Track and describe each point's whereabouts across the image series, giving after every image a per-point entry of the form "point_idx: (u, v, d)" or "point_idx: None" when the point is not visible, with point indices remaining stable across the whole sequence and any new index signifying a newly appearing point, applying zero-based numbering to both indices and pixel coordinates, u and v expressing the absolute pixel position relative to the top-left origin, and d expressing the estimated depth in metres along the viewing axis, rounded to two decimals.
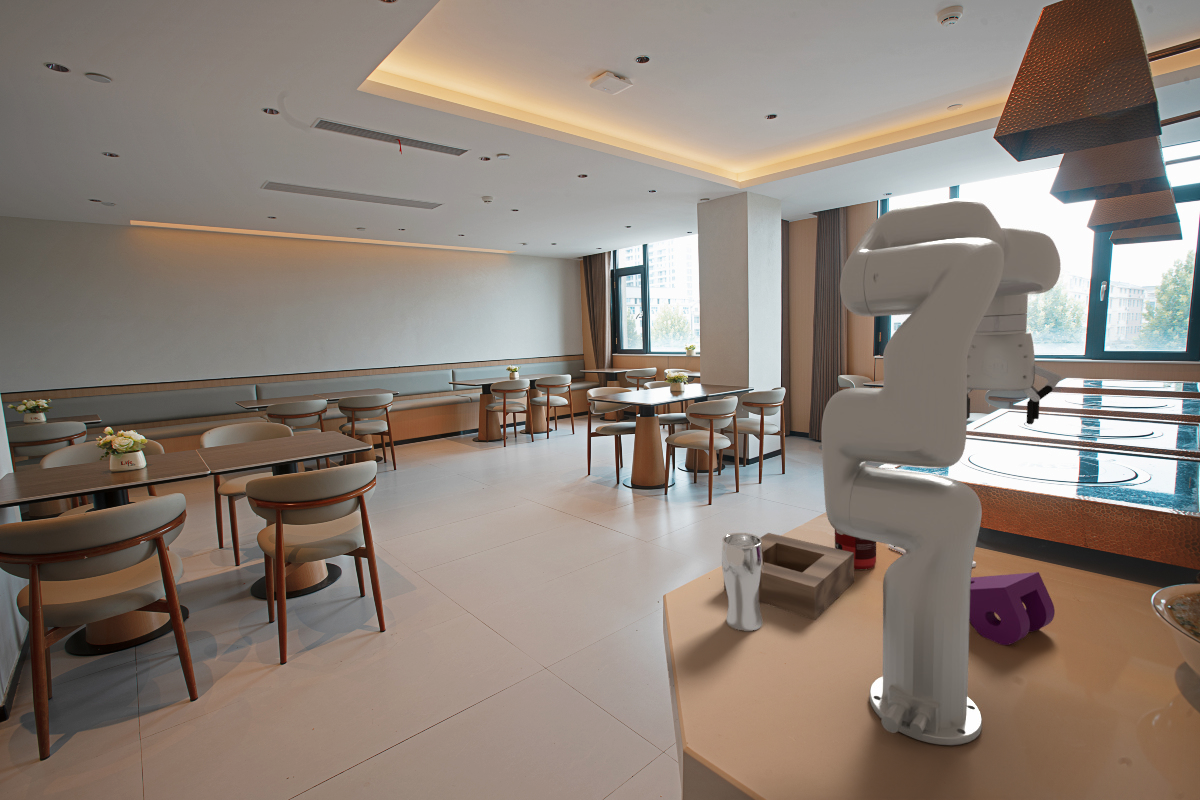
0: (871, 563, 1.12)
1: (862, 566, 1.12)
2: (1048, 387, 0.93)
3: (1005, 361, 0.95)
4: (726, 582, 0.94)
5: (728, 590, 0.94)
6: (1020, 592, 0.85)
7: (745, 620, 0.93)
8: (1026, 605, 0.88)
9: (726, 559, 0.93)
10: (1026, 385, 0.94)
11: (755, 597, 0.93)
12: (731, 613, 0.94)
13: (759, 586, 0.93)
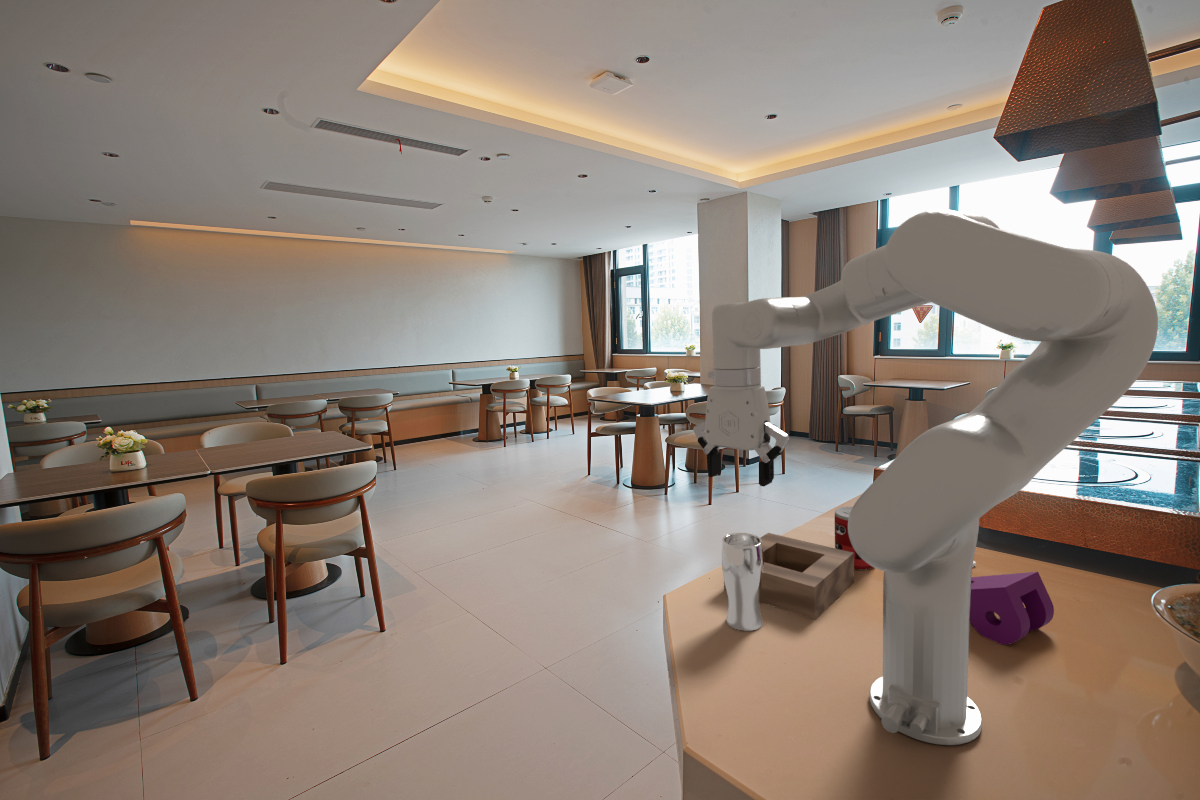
0: None
1: (862, 566, 1.12)
2: (776, 448, 0.86)
3: (736, 418, 0.88)
4: (726, 582, 0.94)
5: (728, 590, 0.94)
6: (1020, 591, 0.85)
7: (745, 620, 0.93)
8: (1026, 605, 0.88)
9: (725, 559, 0.93)
10: (754, 445, 0.87)
11: (755, 597, 0.93)
12: (731, 613, 0.94)
13: (759, 586, 0.93)
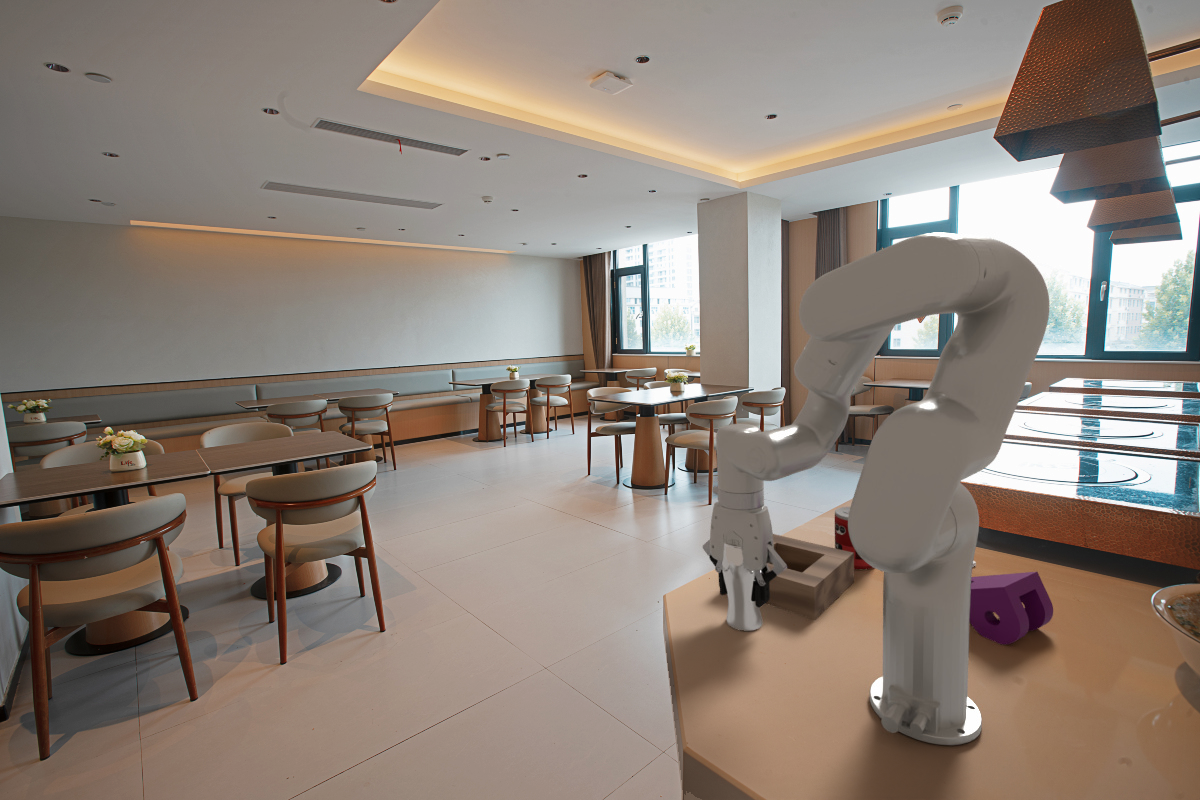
0: None
1: (862, 566, 1.12)
2: (771, 573, 0.90)
3: (740, 539, 0.91)
4: (726, 582, 0.94)
5: (728, 590, 0.94)
6: (1019, 591, 0.85)
7: (745, 620, 0.93)
8: (1025, 605, 0.88)
9: (725, 559, 0.93)
10: (758, 567, 0.89)
11: (754, 596, 0.93)
12: (731, 613, 0.94)
13: None
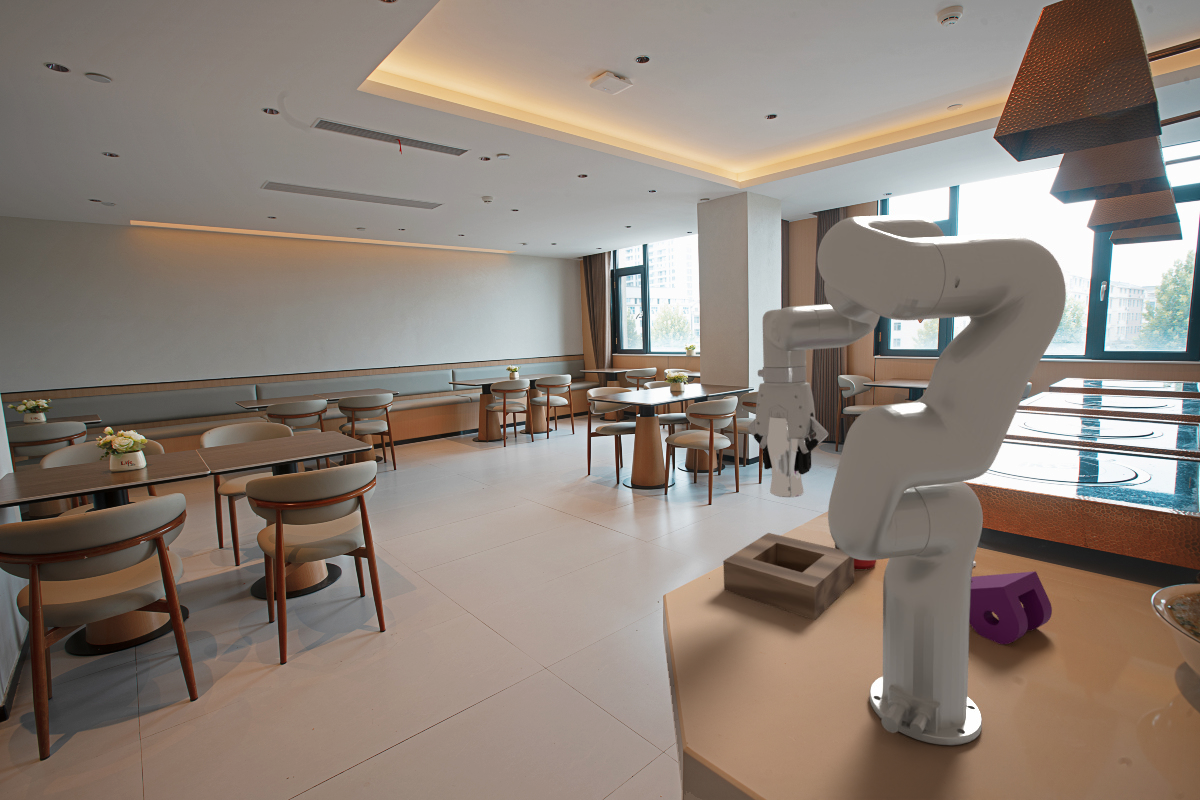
0: (871, 563, 1.12)
1: (862, 566, 1.12)
2: (814, 440, 0.99)
3: (785, 411, 1.00)
4: (771, 454, 1.03)
5: (772, 461, 1.03)
6: (1018, 591, 0.85)
7: (789, 487, 1.02)
8: (1024, 604, 0.88)
9: (770, 432, 1.02)
10: (802, 434, 0.99)
11: (797, 465, 1.02)
12: (775, 483, 1.04)
13: None
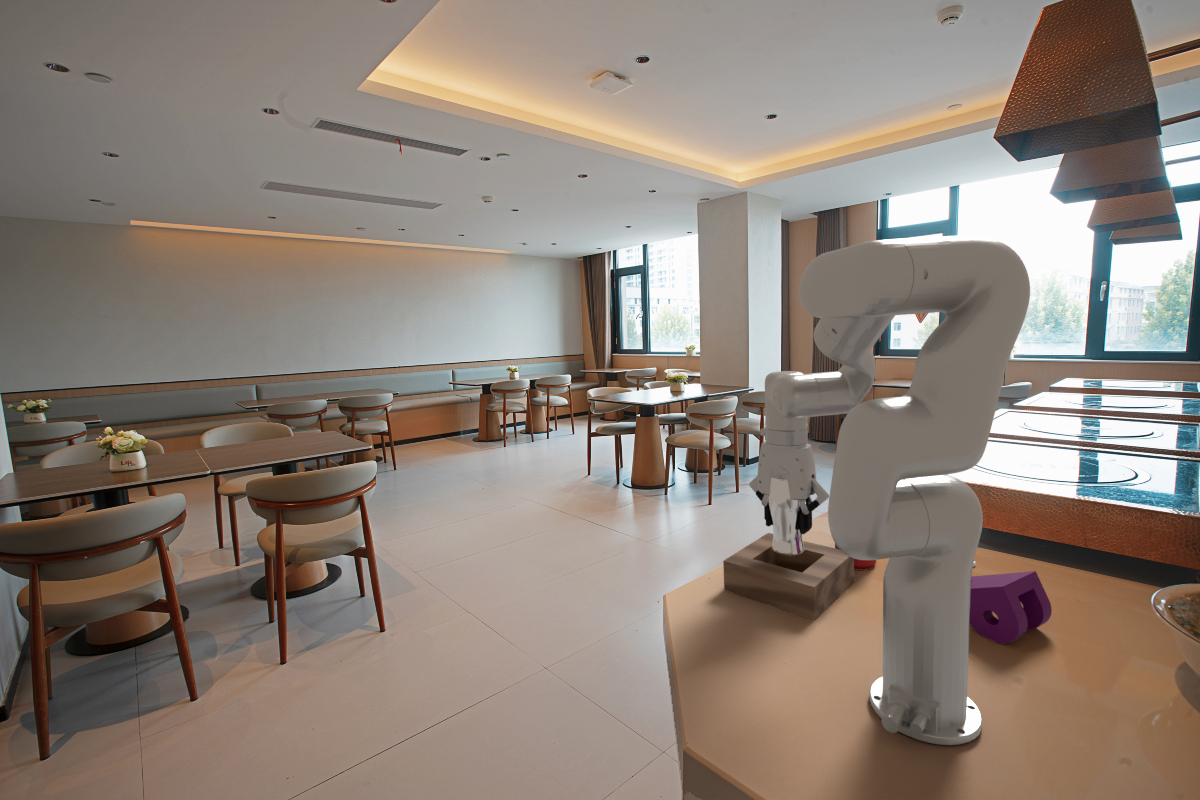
0: (871, 563, 1.12)
1: (862, 566, 1.12)
2: (814, 502, 1.01)
3: (787, 473, 1.02)
4: (772, 513, 1.05)
5: (774, 520, 1.05)
6: (1018, 591, 0.85)
7: (790, 546, 1.04)
8: (1023, 604, 0.88)
9: (772, 491, 1.04)
10: (803, 496, 1.00)
11: (798, 525, 1.04)
12: (776, 541, 1.06)
13: None
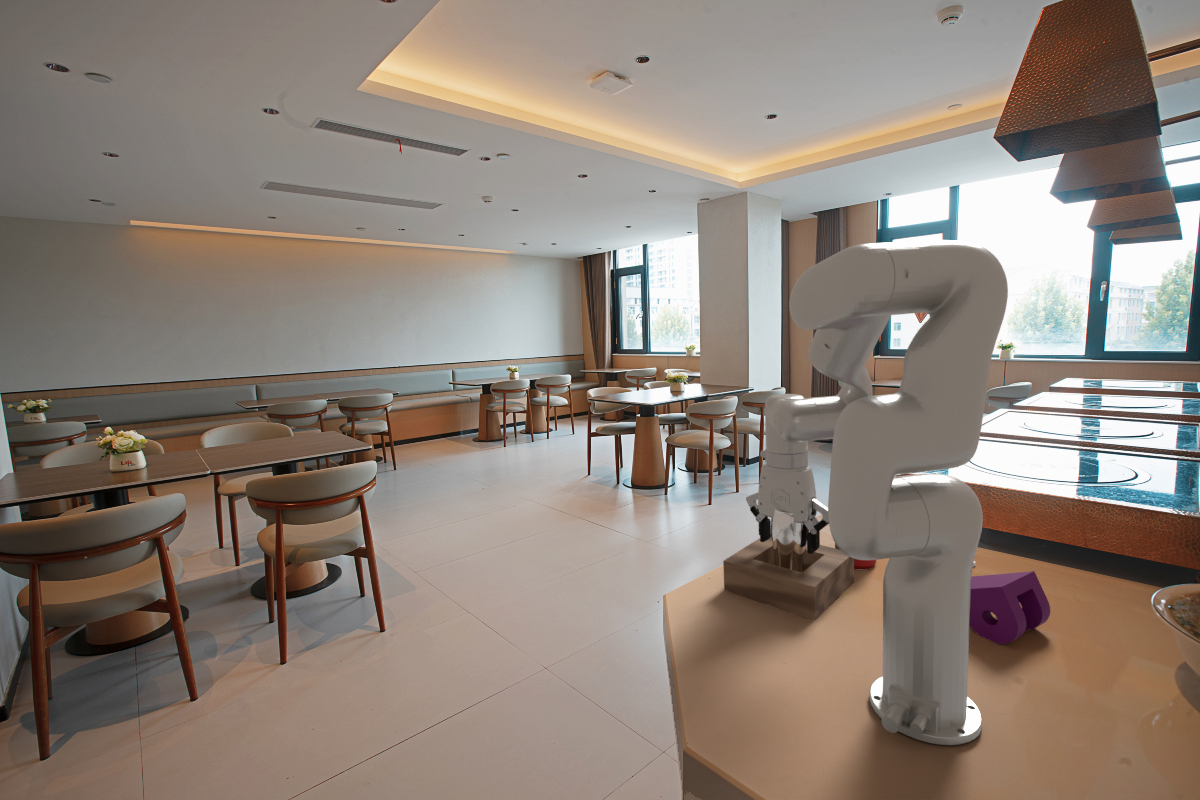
0: (871, 563, 1.12)
1: (862, 566, 1.12)
2: (822, 522, 1.00)
3: (787, 495, 1.02)
4: (775, 544, 1.05)
5: (776, 552, 1.05)
6: (1016, 591, 0.85)
7: None
8: (1022, 604, 0.88)
9: (776, 524, 1.04)
10: (803, 519, 1.01)
11: (800, 558, 1.04)
12: None
13: (805, 548, 1.04)
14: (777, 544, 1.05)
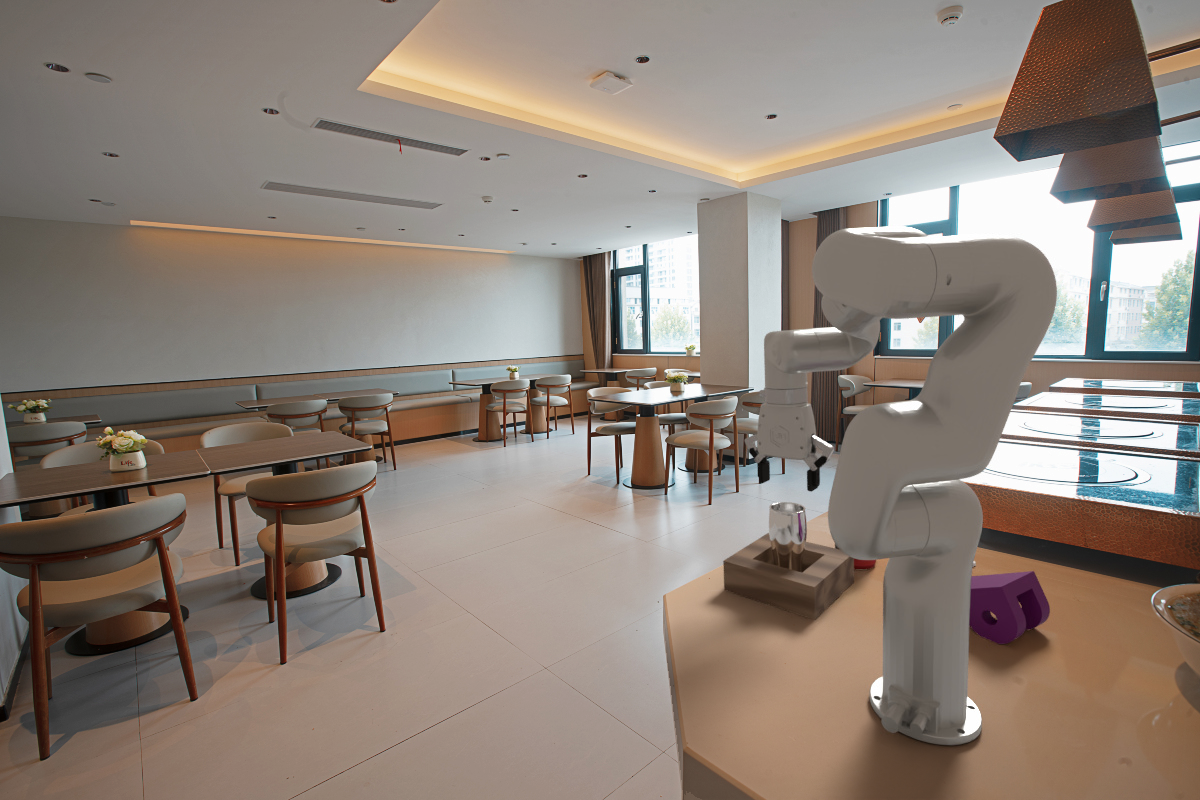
0: (871, 563, 1.12)
1: (862, 566, 1.12)
2: (822, 458, 0.99)
3: (787, 432, 1.01)
4: (773, 545, 1.06)
5: (775, 552, 1.06)
6: (1016, 591, 0.85)
7: None
8: (1022, 604, 0.88)
9: (773, 524, 1.05)
10: (803, 455, 0.99)
11: (799, 558, 1.04)
12: None
13: (803, 548, 1.04)
14: (775, 544, 1.05)
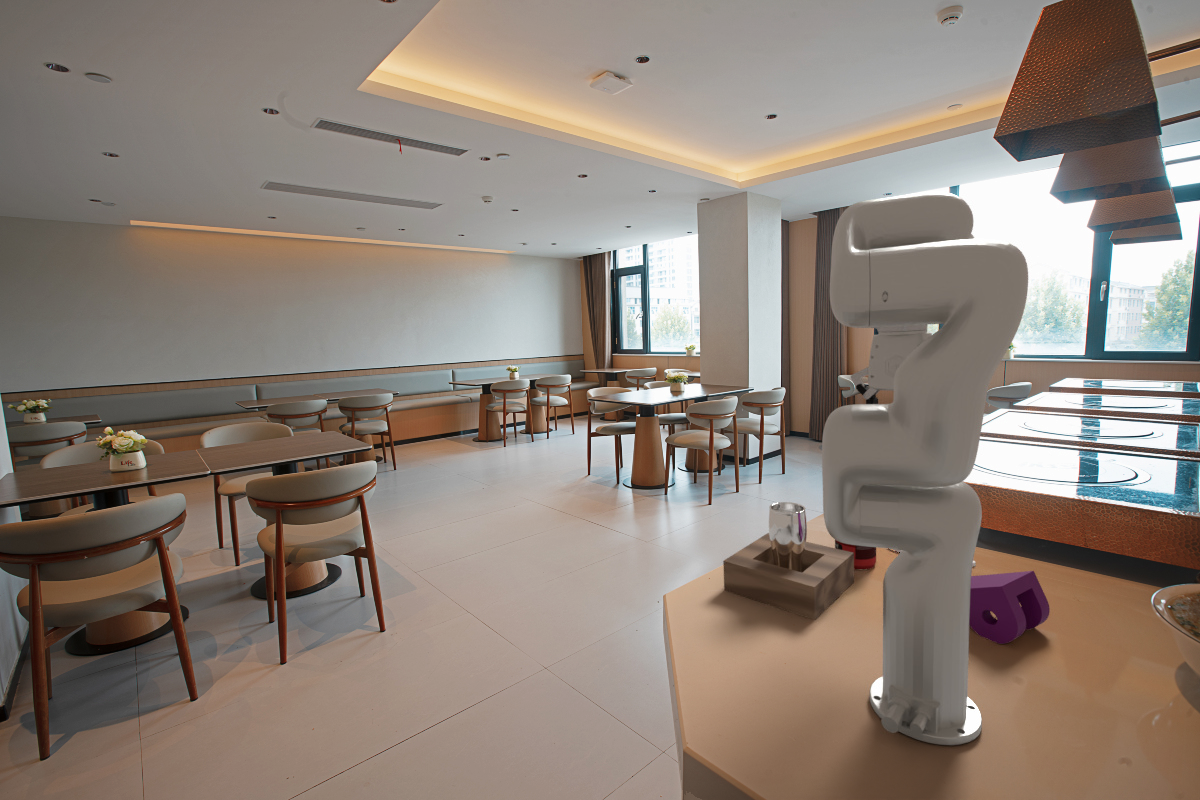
0: (871, 563, 1.12)
1: (862, 566, 1.12)
2: None
3: None
4: (773, 545, 1.06)
5: (775, 552, 1.06)
6: (1016, 591, 0.85)
7: None
8: (1022, 604, 0.88)
9: (773, 524, 1.04)
10: None
11: (799, 558, 1.04)
12: None
13: (803, 548, 1.04)
14: (775, 545, 1.05)
